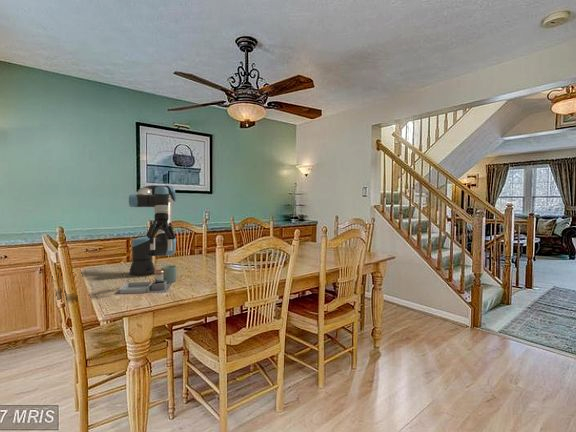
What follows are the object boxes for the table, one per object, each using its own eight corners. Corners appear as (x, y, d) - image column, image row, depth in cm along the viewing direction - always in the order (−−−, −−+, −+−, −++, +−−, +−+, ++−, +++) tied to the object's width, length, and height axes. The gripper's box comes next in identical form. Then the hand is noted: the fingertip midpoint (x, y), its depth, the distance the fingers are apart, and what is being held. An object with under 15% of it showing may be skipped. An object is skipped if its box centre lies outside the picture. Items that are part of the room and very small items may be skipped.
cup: (179, 283, 181) (179, 266, 181) (168, 286, 175) (168, 269, 174) (170, 281, 185) (170, 264, 185) (159, 284, 179) (158, 267, 178)
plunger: (155, 281, 169) (155, 270, 168) (165, 280, 169) (164, 269, 169) (153, 283, 164) (153, 272, 163) (163, 283, 165) (162, 271, 164)
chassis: (128, 288, 172) (127, 279, 172) (172, 286, 176) (172, 278, 175) (117, 297, 156) (116, 287, 156) (166, 295, 160) (165, 286, 159)
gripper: (150, 209, 170) (150, 248, 167) (181, 215, 193) (181, 250, 190) (139, 211, 173) (139, 250, 169) (171, 217, 196) (171, 251, 192)
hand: (161, 250), depth 179 cm, fingers open, 13 cm apart
